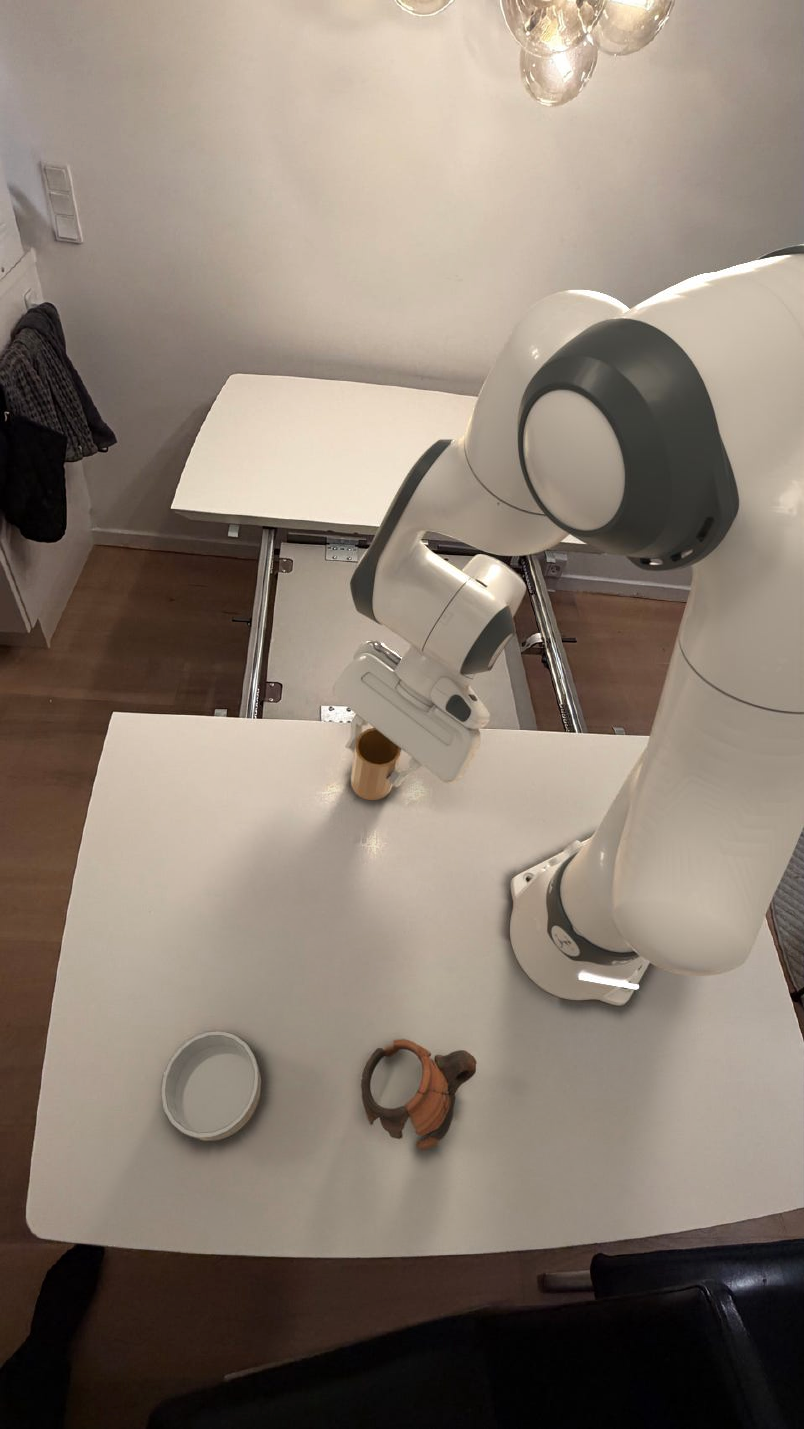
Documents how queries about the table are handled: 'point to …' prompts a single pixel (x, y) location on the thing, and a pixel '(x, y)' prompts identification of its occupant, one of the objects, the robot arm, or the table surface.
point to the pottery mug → (421, 1092)
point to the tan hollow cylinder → (373, 764)
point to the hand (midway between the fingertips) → (372, 766)
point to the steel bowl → (211, 1086)
